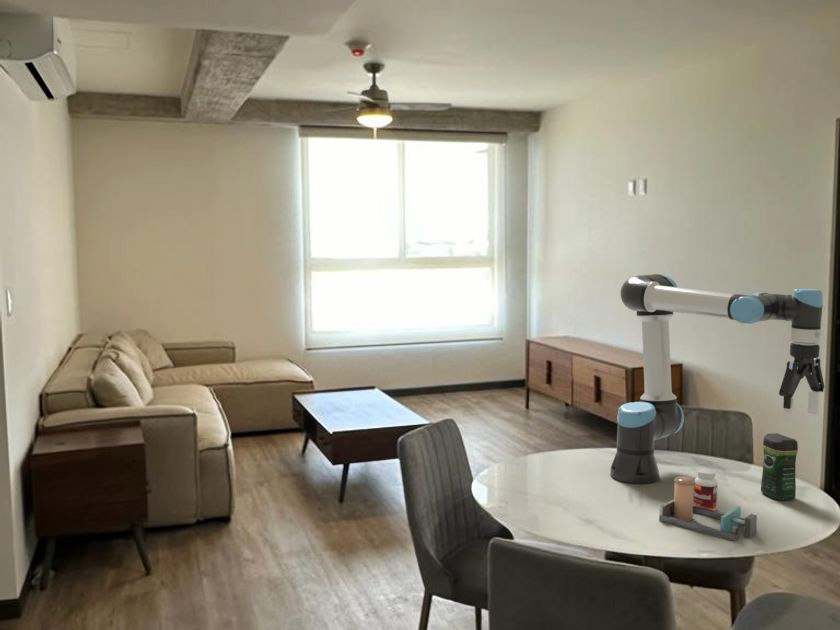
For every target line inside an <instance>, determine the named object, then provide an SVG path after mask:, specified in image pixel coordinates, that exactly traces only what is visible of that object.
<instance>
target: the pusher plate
mask: <svg viewBox="0 0 840 630" xmlns="http://www.w3.org/2000/svg"><path fill="white" fill-rule="evenodd" d="M741 512H742V507H741V506H735V507H734V508H732V509H731V510H729V511H728V512H726V513H725V515H723V516H721V519H720V529H719V530H722V531H726V532H729V533H731V532H732V527H734V526H736V527H738V528H739V526H741V524H745V525H744V531H743V533H744V534H743V535H744V537H746V538H748V539H751V538H752V537H754V536H756V535H757V521H758V519H757V518H758V517H757V516H758V515H756V514H753V513H750V514H749V515H747V516H745V517H744V518H745V520H741V519H740V517H741V515H742V514H741ZM741 518H742V517H741ZM740 523H741V524H740Z"/></svg>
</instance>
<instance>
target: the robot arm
mask: <svg viewBox="0 0 840 630" xmlns="http://www.w3.org/2000/svg"><path fill="white" fill-rule="evenodd" d="M620 298H621V302H622V304H623V305H624V306H625V307H626V308H627V309H629V310H630V311H634V312H636V317H637V318H638V319H639V320H640V322H641V335H642V337H641V338H642V360H643V361H642V362H643V379H644V385H643V386H644V393H642V395H641V396H640V397H639V398H640V401H634V402H627V403H624V404H622V405H620V406H619V408H618V410H617V416H616V422H617V424H616V425H617V426H616V452H615V454H614V455H615V456H614V457H613V459H612V463H611V466H610V477H611V478H612V479H615V480H618V481H620V482H624V483H629V484H638V485H639V484H641V485H642V484H652V483H654V482H658V481H659V480H660V470H659V466H658V464H657V459H656V457H655V441H658V440H661V439H663V438H664V439H665V438H669V437H671V436H673V435H675V434H676V433H678V432H679V431H680V430H681V429H682V427H683V424H684V422H685V421H684V420H685V414H684V413H685V412H684V411H683V409H682V407H681V406H680V404H679V403H678V399H677V398H678V397H677V395H675V394H674V393H673V392H672V391H673V390H672V371H671V370H672V369H671V348H670V346H671V345H670V342H671V341H670V320H671V318H673V316H674V313H681V314H687V315H694V316H701V317H708V318H709V317H710V318H716V319H717V318H718V319H726V320H731V321H736V322H737V323H740V324H750V325H751V324H755V323H758V322H764V321H771V320H772V321H773V320H775V321H785V322H791V326H790V328H791V329H790V342H791V343H790V344H789V355H790V357H793V361H789V360H788V361H787V362H786V368H785V369H786V370H785V371H784V376H783V379H782V382H781V385H780V389H779V391H778V395H779V396H780V397H783V402H782V403H783V405H782V419H783V420H785V421H786V420H787V421H791V422H793V421H794V412H795V397H794V394H795V392H796V390H797V388H798V386H799V384H800V382H801V380H802V379H804V377H805V379H806V381H807V384H808V385H809V389H810V390H808V398H807V399H808V401H807V413H808V414H813V415H818V414H819V406H820V405H819V403H820V392H821V393H824V389H825V383H824V378H823V372H822V367H821V358H819V357H820V349H821V348H820V347H821V346H820V342H821V336H822V333H821V328H822V314H823V307H824V304H823V291H821V290H820V289H817V288H794V290H793V292H792V294H779V293H778V294H777V293H769V292H755V293H753V294H752V295H749V294H748V295H747V294H738V293H729V292H721V291H714V290H713V291H712V290H702V289H695V288H688V287H687V288H685V287H678V284H677V283H676V282H675V280H673V278H671V277H670V276H668V275H665V274H658V273H654V274H644V275H643V274H642V275H641V274H640V275H634V276H632V277H629V278H627V280H624V282H623V284H622V286H621V288H620Z"/></svg>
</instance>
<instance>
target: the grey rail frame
mask: <svg viewBox="0 0 840 630" xmlns="http://www.w3.org/2000/svg"><path fill="white" fill-rule="evenodd" d="M694 513H695V514H699V515H703V516H707V517H711V518H714V519H719V520H721V516H723V515H725V514H726V513H725V512H721V511H716V510H715V511H713V510H709V509H705V508H701V507H697V506H693V514H694ZM672 516H674V498H673V499H671V500H669V501H667V502H665V503H663V504H662V505H660V506H659V517H658V521H659V522H662V523H666V524H670V525H673V526H678V527H680V528H681V527H682V528H685V529H688V530H691V531H697V532H700V533H703V534H707V535H710V536H714V537H718V538H722V539H726V540H729V541H732V542H734V541H736V540H737V539H738V538H739V526H738V527H736V526H734V527H732V531H731V532H726V531H722V530H720V529H717V528H714V527H711V526H707V525H703V524H698V523H695V522H691V521H684V520H680V519H677V518H674V517H672ZM745 518H746V517H740V519H741V520H745ZM740 526H745V524H741V523H740Z"/></svg>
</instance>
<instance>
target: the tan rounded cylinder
mask: <svg viewBox="0 0 840 630" xmlns="http://www.w3.org/2000/svg"><path fill="white" fill-rule="evenodd" d="M673 481H674V488H673V489H674V496H673V499H674V515H673V518H677V519H680V520H684V521H688V522H691V521H692V520H693V516H694V515H693V514H694V512H693V500H694V481H695V479H694V478H693V477H689V476H676V477H674V480H673Z"/></svg>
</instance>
